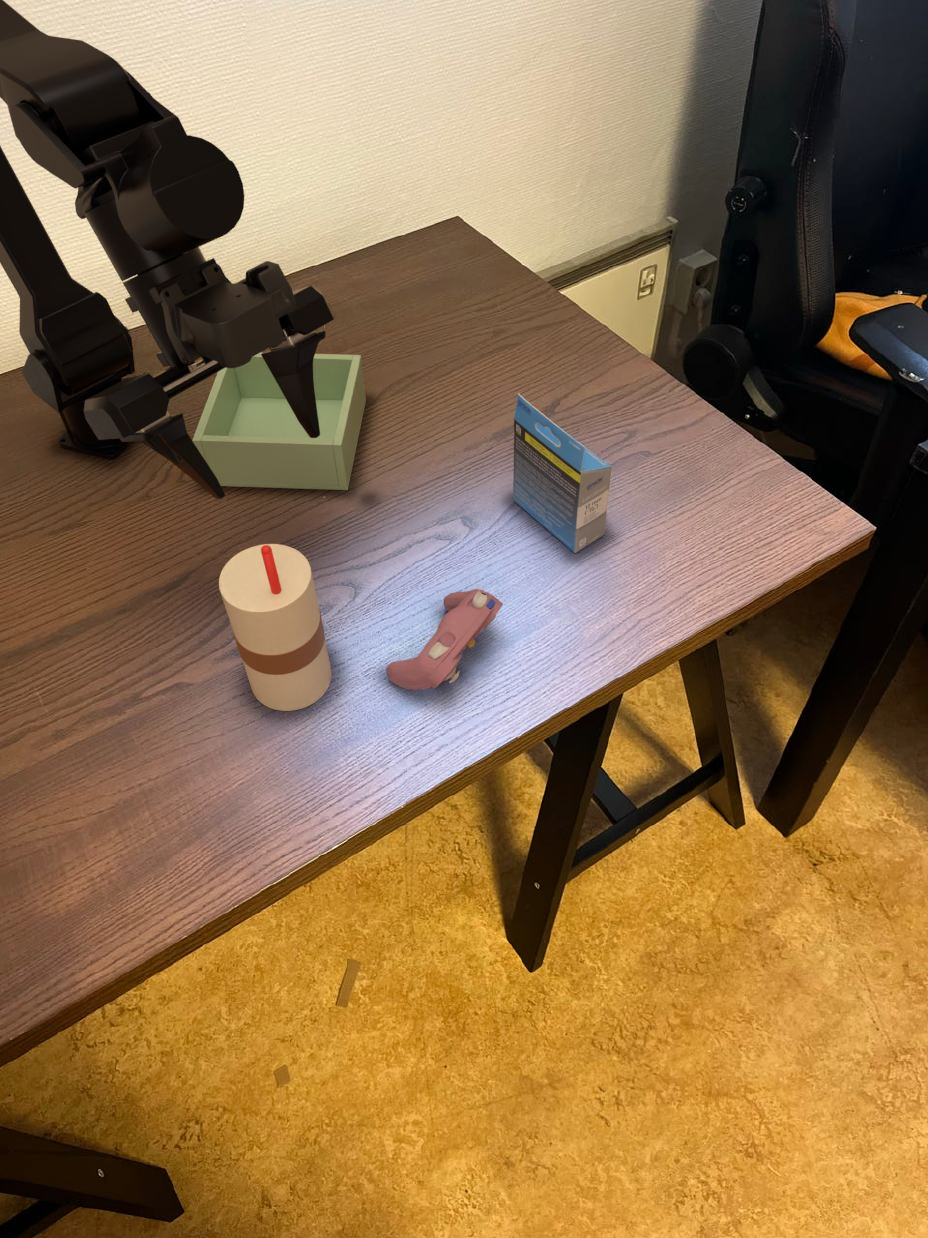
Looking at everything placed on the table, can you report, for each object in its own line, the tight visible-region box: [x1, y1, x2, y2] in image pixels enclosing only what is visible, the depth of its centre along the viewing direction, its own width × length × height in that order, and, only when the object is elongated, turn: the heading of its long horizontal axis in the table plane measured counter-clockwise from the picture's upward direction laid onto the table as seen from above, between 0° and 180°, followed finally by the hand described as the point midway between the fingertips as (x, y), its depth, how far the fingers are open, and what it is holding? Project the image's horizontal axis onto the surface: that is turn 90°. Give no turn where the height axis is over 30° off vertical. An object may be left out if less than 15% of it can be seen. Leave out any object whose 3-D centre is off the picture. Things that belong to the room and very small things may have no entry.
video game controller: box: [386, 588, 504, 691], centre depth 74 cm, size 10×5×7 cm, turn 148°
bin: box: [191, 351, 367, 491], centre depth 91 cm, size 14×14×6 cm
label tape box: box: [512, 392, 612, 554], centre depth 81 cm, size 9×4×12 cm, turn 37°
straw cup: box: [218, 543, 333, 712], centre depth 68 cm, size 6×6×16 cm
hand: (269, 466), depth 71 cm, fingers open, 9 cm apart
